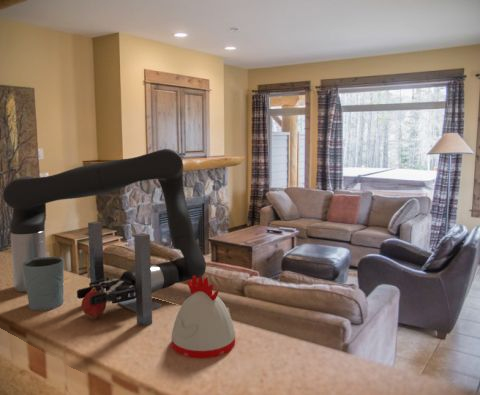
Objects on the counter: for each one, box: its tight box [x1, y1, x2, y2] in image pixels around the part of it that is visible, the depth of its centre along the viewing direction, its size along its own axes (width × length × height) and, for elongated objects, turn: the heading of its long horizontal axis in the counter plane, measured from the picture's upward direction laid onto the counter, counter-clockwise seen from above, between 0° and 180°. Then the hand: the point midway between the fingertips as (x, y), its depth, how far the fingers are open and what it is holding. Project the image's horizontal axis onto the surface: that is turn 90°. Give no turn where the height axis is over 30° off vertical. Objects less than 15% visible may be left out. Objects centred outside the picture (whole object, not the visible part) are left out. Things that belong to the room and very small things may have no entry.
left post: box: [87, 221, 106, 292], centre depth 121 cm, size 3×3×22 cm
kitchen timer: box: [171, 276, 236, 359], centre depth 97 cm, size 14×14×15 cm
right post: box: [133, 232, 153, 328], centre depth 106 cm, size 3×3×22 cm
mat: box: [117, 298, 162, 314], centre depth 119 cm, size 10×7×1 cm
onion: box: [81, 288, 107, 320], centre depth 109 cm, size 6×6×8 cm
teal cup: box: [23, 256, 64, 311], centre depth 119 cm, size 10×10×12 cm
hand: (84, 297), depth 107 cm, fingers closed on onion, 5 cm apart
